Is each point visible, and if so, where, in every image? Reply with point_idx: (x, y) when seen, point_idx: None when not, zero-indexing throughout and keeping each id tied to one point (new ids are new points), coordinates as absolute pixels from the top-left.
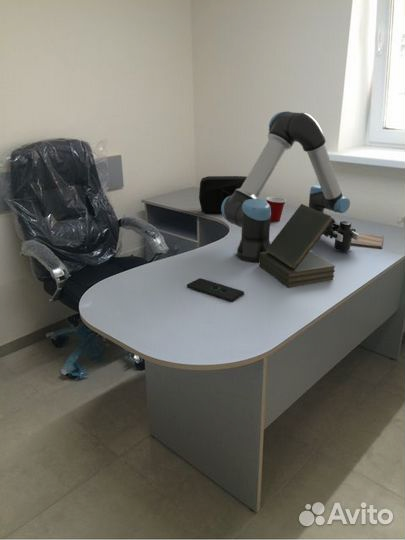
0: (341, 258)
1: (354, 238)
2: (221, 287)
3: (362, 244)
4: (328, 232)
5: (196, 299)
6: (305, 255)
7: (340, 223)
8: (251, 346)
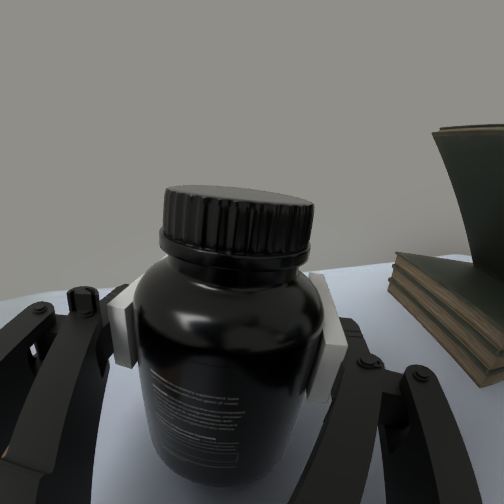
0: None
1: None
2: None
3: None
4: (404, 374)
5: None
6: (467, 232)
7: (312, 210)
8: (466, 258)
